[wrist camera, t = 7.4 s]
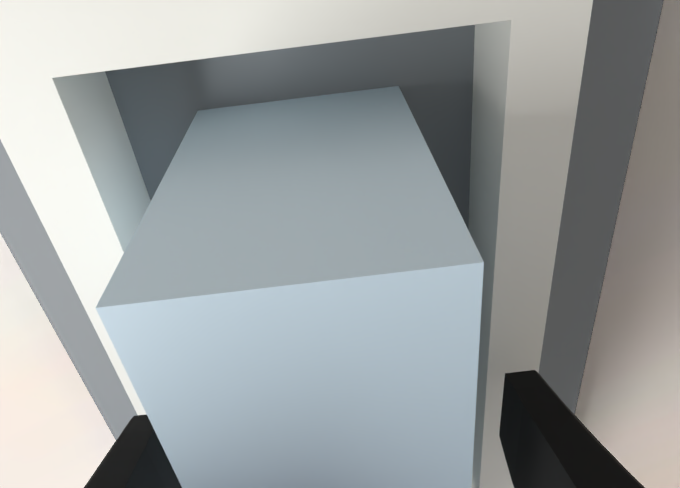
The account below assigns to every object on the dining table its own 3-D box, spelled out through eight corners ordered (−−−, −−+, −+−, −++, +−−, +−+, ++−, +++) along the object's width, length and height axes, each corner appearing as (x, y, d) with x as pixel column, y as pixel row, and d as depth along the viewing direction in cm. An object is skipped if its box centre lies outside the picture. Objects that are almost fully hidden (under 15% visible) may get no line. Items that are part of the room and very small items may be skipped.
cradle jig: (544, 481, 20) (578, 564, 17) (181, 521, 20) (163, 609, 18) (670, -198, 9) (812, -235, 6) (-135, -90, 9) (-301, -86, 7)
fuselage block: (415, 454, 17) (460, 686, 12) (292, 467, 17) (286, 704, 12) (398, 86, 10) (484, 261, 5) (197, 110, 10) (95, 308, 5)
